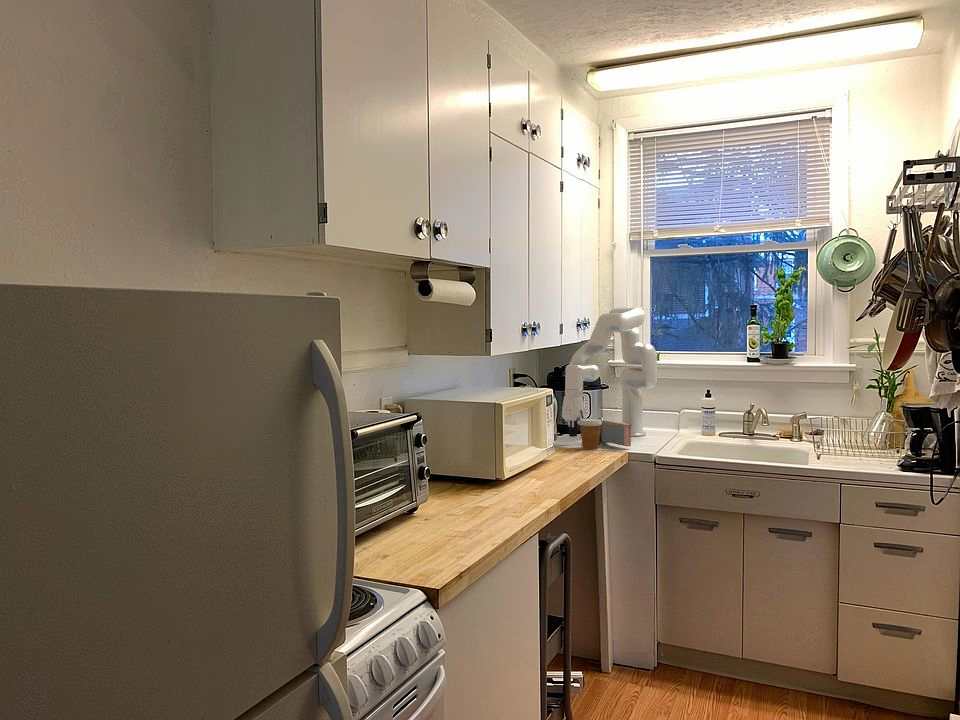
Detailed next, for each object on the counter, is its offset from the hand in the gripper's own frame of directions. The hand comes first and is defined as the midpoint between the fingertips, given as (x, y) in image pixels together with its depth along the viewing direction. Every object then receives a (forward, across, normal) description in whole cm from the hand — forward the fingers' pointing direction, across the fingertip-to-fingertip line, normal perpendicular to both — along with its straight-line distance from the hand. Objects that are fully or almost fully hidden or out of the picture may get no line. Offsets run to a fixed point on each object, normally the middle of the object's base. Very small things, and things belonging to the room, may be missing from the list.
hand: (573, 436), depth 314 cm
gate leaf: (+2, +13, +13) cm, 18 cm away
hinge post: (+3, +3, +13) cm, 13 cm away
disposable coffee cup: (+4, +11, +1) cm, 12 cm away
